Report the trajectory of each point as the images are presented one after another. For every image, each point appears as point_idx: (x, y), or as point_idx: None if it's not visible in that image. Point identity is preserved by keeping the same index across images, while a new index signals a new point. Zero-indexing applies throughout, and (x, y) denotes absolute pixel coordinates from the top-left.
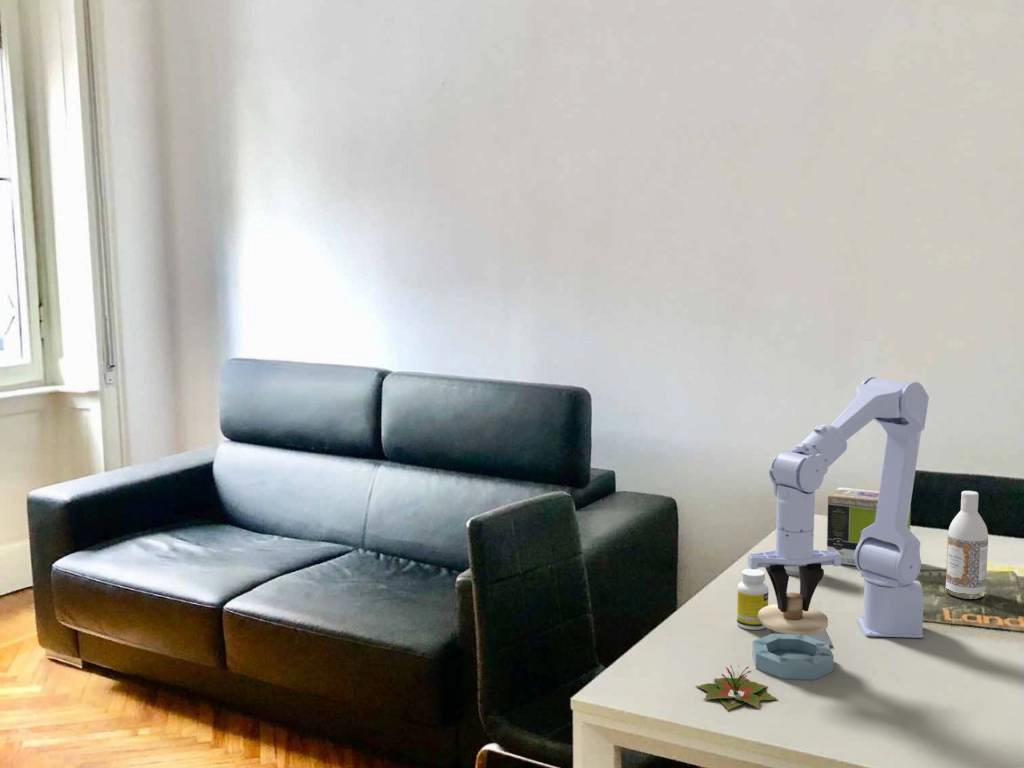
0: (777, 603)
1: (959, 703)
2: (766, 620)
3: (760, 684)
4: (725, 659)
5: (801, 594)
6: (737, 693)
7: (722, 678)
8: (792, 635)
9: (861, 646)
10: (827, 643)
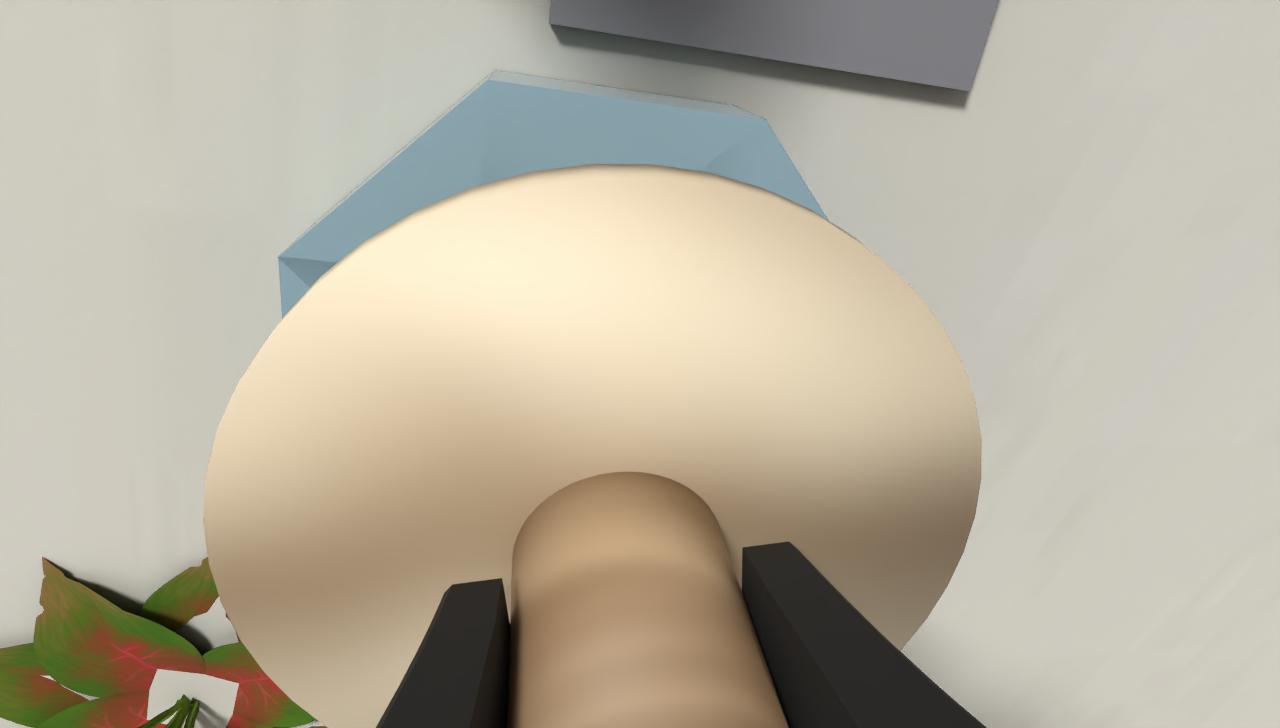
0: (431, 625)
1: (1151, 700)
2: (302, 651)
3: None
4: (94, 282)
5: (810, 711)
6: (198, 707)
7: (91, 596)
8: (669, 138)
9: (1170, 73)
10: (953, 51)
